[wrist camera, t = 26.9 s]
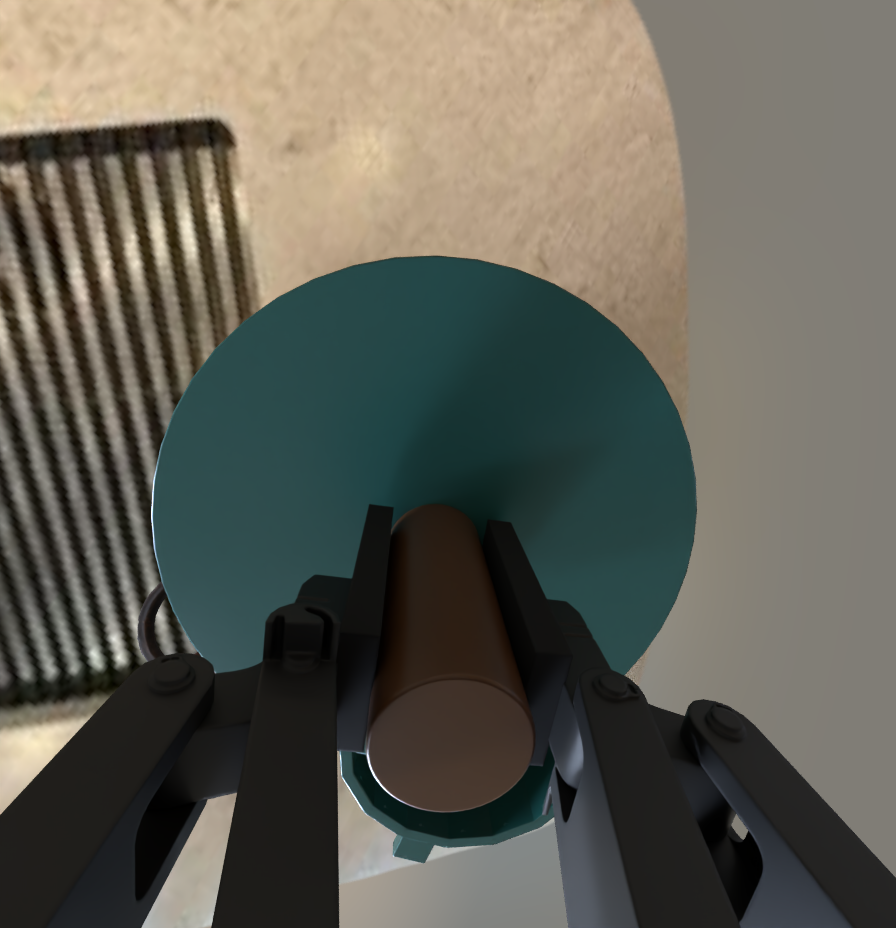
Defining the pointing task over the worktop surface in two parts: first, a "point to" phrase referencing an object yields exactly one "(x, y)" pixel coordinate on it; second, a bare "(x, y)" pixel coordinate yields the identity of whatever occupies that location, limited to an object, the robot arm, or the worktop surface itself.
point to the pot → (450, 829)
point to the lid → (427, 494)
